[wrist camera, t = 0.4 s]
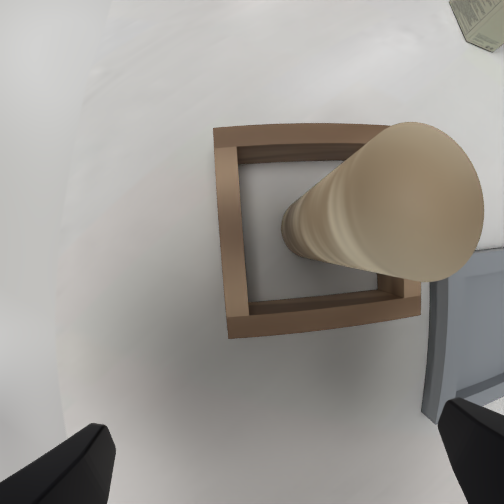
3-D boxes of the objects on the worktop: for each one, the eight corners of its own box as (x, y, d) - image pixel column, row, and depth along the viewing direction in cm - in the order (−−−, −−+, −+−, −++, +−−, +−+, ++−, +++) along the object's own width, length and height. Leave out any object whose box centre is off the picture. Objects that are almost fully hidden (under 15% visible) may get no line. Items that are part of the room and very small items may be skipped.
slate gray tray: (513, 375, 22) (528, 383, 19) (421, 411, 21) (435, 424, 19) (523, 244, 22) (541, 245, 19) (429, 255, 21) (447, 256, 19)
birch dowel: (342, 256, 21) (487, 273, 7) (283, 260, 21) (361, 291, 7) (337, 196, 21) (471, 129, 7) (278, 199, 21) (344, 117, 7)
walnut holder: (392, 304, 21) (420, 314, 17) (231, 321, 21) (228, 338, 17) (379, 144, 21) (404, 126, 17) (218, 148, 21) (213, 128, 17)
